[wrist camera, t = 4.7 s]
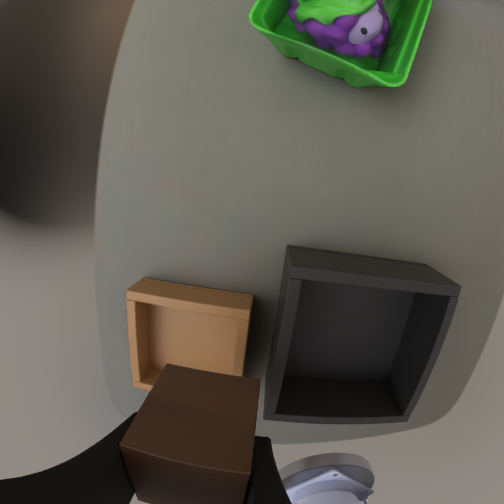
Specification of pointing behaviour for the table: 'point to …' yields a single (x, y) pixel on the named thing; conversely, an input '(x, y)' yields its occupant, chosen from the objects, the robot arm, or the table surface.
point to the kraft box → (185, 329)
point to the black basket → (354, 337)
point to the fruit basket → (347, 36)
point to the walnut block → (193, 438)
